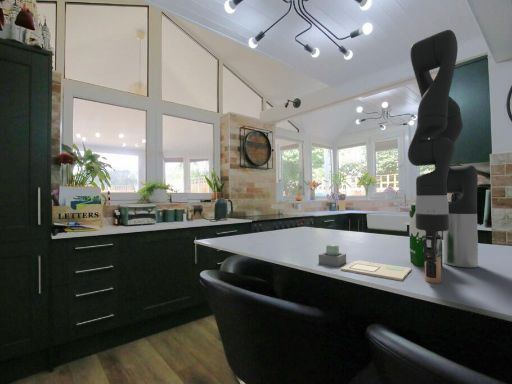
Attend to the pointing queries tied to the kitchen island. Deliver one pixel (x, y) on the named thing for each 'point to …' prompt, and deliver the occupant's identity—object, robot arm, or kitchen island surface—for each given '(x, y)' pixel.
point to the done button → (332, 250)
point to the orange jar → (438, 270)
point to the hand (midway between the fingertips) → (432, 274)
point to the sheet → (378, 270)
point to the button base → (332, 259)
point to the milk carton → (417, 240)
